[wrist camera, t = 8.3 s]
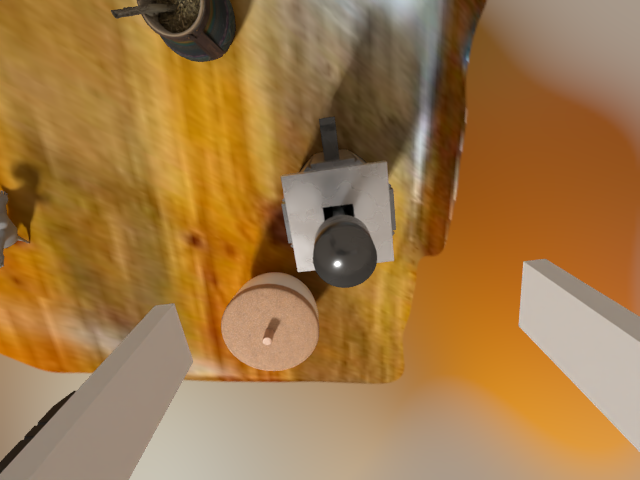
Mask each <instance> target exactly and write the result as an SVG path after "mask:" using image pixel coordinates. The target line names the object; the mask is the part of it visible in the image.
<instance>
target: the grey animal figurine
mask: <svg viewBox="0 0 640 480" xmlns="http://www.w3.org/2000/svg"><path fill="white" fill-rule="evenodd" d="M7 202H8V193H6V192H5V191H4V195H3V191H1V192H0V268H1V265H2V267H3V266H4V255H3V249H4V248H7V247H9V246H11V245H13V244H14V243H15V242H16V241H17V240H20V241H24V242H26V243H30V242H28V241H27V240H25V239H23V238H21V237H19V236H18V234H17V228H16V226H15V225H14V224H13V223H12V221H11V220H10V219H9V217H8V216H7V210H6V204H7Z"/></svg>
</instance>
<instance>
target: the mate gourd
mask: <svg viewBox="0 0 640 480" xmlns="http://www.w3.org/2000/svg"><path fill="white" fill-rule="evenodd" d="M137 3H138V7H137V6H136V7H133V8H132V7H127V8H123V10H122V9H118V10H111V13H112V14H113V15H114V17H115V18H116V19H117V18H120V17H127V16H133V15H139V14H142V16H143V18H144V20H145V21H146V23H147V25H149V26H150V27H151V29H153V30H154V31H155V32H156V33H158V34H159V35H160V36H161V38H162V39H163V40H164V42H165V43H166V44H167V46H168V47H170V48H171V49H172V50H173V51H174V52H175V53H177V54H178V55H180V56H182V57H184V58H186V59H189V60H191V61H198V62H204V61H210V60H214V59H218V58H220V57H222V56H223V54H224V53H226V52H227V50H228V49H229V46H230V45H231V43H232V41H233V38H234V35H235V31H236V28H235V27H236V25H235V16H234V12H233V8H232V4H231V2H230V0H137Z"/></svg>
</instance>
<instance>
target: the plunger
mask: <svg viewBox="0 0 640 480" xmlns="http://www.w3.org/2000/svg"><path fill="white" fill-rule="evenodd" d="M323 211H324V218H325V219H327V220H326V221H324V222H323V223H322V224H321V225H320V227H319V228H318V230H317V232H316V235H315V241H314V250H313V264H314V268H315V270H316V272H317V274H318V275H319V276H320V277H321V278H322V279H323V280H324V281H325V282H327V283H328V284H330V285H333V286H336V287H342V288H346V287H353V286H356V285H359V284H361V283H363V282H364V281H365V280H367V279H368V278H369V277H370V276H371V274H372V273H373V271H374V269H375V267H376V263H377V251H376V248H375V245H374V243H373V240H372V238H371V235H370V233H369V231H368V228H367V227H366V225H365V224H364V223H363V222H362V221H360V220H359V219H357V218H355V217H353V216H352V215H353V214H354V212H353V204H346V205H339V206H331V207H324V208H323Z"/></svg>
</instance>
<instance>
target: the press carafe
mask: <svg viewBox="0 0 640 480" xmlns="http://www.w3.org/2000/svg"><path fill="white" fill-rule="evenodd" d="M319 122H320V130H321V137H322V145H323V152H320V153H315V155H312V157H311V158H310V159H309V160H308V161H307V162H306V163H305V165H304V166H303V167H302V169H301V171H300V172H299V173H292V174H285V175H282V176H281V180H282V186H283V192H284V198H283V200H282V201H283V202H282V210H283V215H284V221H285V226H286V232H287V237H288V243H291V247H292V248H294V254H295V259H296V265H297V271H298V272H304V271H313V270H315V268H314V264H313V250H314V241H315V235H316V232H317V230H318V228H319V227H320V225H321V224H322V223H323V222H324V221H326V220H327V219H325V218H324V211H323V208H324V207H331V206H339V205H346V204H353V212H354V214H353V215H352V216H353V217H355V218H357V219H359V220H360V221H362V222H363V223H364V224H365V225H366V227H367V228H368V231H369V233H370V235H371V238H372V240H373V243H374V245H375V248H376V251H377V263H379V262H388V261H394V254H393V240H392V236H393V235H394V231H393V230H396V224H395V209H394V194H393V189H392V188H391V185H390V184H389V183H388V170H387V162H386V161H378V162H371V163H366V162H365V161H364V160H363V159H362V158H360V157H359V156H358V155H356V154H354V153H353V152H351V151H350V150H347V149H338V142H337V133H336V125H335V117H329V118H322V119H319Z"/></svg>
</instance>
